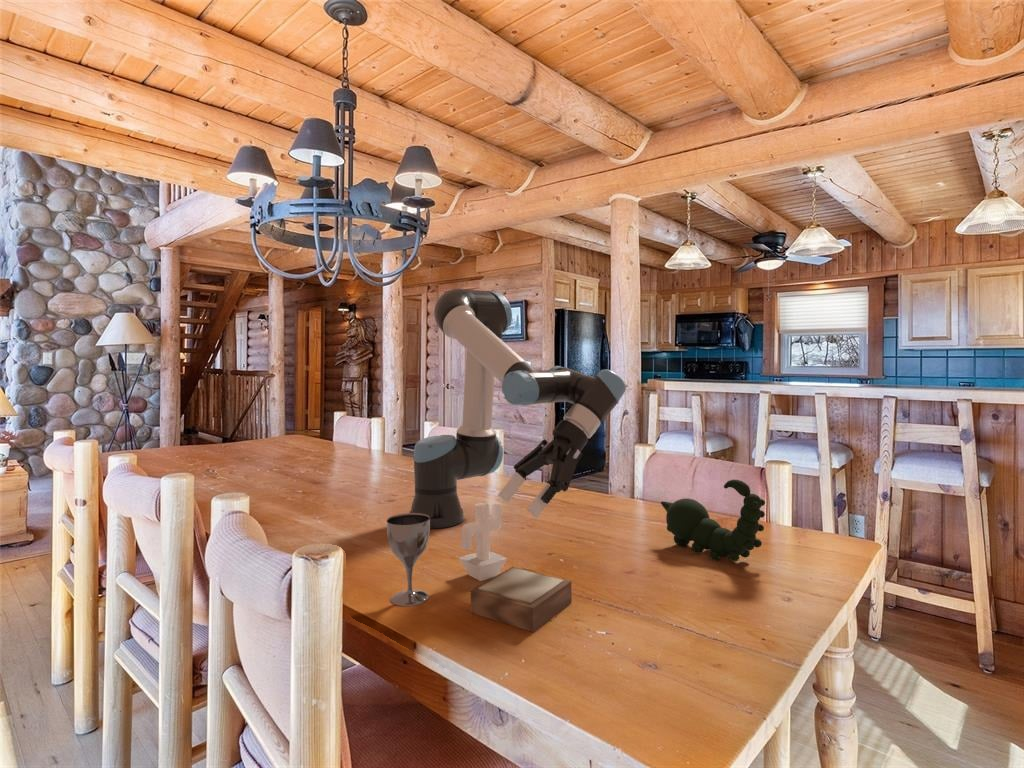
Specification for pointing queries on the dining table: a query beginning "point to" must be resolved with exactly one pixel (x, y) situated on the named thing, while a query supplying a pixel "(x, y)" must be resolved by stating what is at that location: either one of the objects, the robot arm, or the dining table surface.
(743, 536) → the toy figurine
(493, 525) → the figurine
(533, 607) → the walnut pedestal
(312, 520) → the dining table surface
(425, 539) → the wine glass
